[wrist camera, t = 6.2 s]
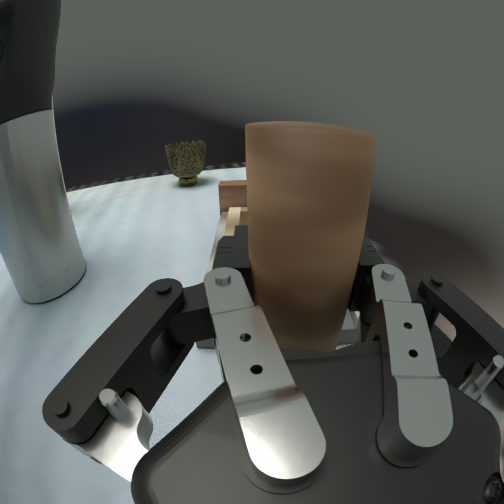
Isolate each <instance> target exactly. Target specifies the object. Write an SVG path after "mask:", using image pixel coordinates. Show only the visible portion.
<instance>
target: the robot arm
mask: <svg viewBox="0 0 504 504" xmlns="http://www.w3.org/2000/svg"><path fill="white" fill-rule="evenodd" d="M60 8H61V0H0V252H1V254H2V257H3V259H4V262H5V264H6V267H7V269H8V271H9V274H10V276H11V278H12V280H13V282H14V284H15V287H16V289H17V291H18V293H19V295H20V296H21V298H22V299H23V300H24V301H26V302H29V303H41V302H45V301H48V300H51V299H54V298H56V297H58V296H60V295H62V294H63V293H65V292H66V291H68V290H69V289H70V288H72V287H73V286H74V285H75V284H76V283H77V282H78V281H79V280H80V279H81V277H82V276H83V274H84V272H85V270H86V263H85V260H84V257H83V254H82V251H81V248H80V244H79V241H78V238H77V235H76V231H75V227H74V224H73V220H72V216H71V213H70V209H69V205H68V201H67V196H66V192H65V188H64V183H63V178H62V173H61V168H60V162H59V156H58V150H57V143H56V139H55V138H56V137H55V129H54V120H53V110H52V109H53V108H52V92H53V87H54V79H55V54H56V44H57V36H58V27H59V20H60ZM348 309H349V312H354V311H359V313H360V314H359V318H358V321H357V330H358V343H355V344H353V345H350V346H347V347H344V348H341V349H338V350H335V351H331V352H322V351H314V350H307V349H300V348H282V349H279V347H278V345H277V342H276V340H275V338H274V336H273V333H272V331H271V329H270V327H269V324H268V322H267V320H266V317H265V315H264V313H263V311H262V309H261V307H260V306H259V305H256V306H254V304H253V301H252V299H251V271H250V260H249V251H248V225H235V230H234V236H223V237H222V238H221V239H220V240H219V241H218V244H217V249H216V254H215V257H214V262H213V267H212V270H211V271H209V272H208V273H207V274H206V275H205V277H204V282H203V283H200V284H198V285H195V286H191V287H186V288H183V287H182V284H181V283H180V282H179V281H177V280H175V279H170V278H166V279H160V280H157V281H155V282H153V283H151V284H150V285H149V286H148V287H147V288H146V289H145V290H144V291H143V292H142V293H141V294H140V295H139V296H138V297H137V298H136V299H135V300H134V301H133V302H132V303H131V304H130V305H129V306H128V307H127V308H126V309H125V310H124V311H123V312H122V313H121V315H120V316H119V317H118V318H117V319H116V320H115V321H114V322H113V323H112V324H111V325H110V326H109V327H108V328H107V329H106V331H105V332H104V333H103V334H102V335H101V336H100V337H99V338H98V339H97V340H96V341H95V343H94V344H93V345H92V346H91V347H90V348H89V349H88V350H87V351H86V352H85V354H84V355H83V356H82V357H81V358H80V359H79V360H78V361H77V363H76V364H75V365H74V366H73V367H72V368H71V369H70V371H69V372H68V373H67V374H66V375H65V376H64V378H63V379H62V380H61V381H60V382H59V383H58V385H57V386H56V387H55V388H54V389H53V391H52V392H51V393H50V394H49V395H48V397H47V398H46V400H45V402H44V404H43V409H42V413H43V418H44V420H45V422H46V423H47V425H48V426H49V427H51V428H52V429H53V430H54V431H55V432H57V433H58V434H59V435H60V436H61V437H62V438H63V439H64V440H65V441H66V442H67V443H69V444H70V445H71V446H73V447H74V448H75V449H77V450H78V451H80V452H81V453H82V454H84V455H86V456H89V457H90V458H92V459H93V460H95V461H96V462H98V463H100V464H104V465H106V466H107V467H108V468H110V469H111V470H113V471H114V472H116V473H118V474H119V475H121V476H122V477H124V478H126V479H127V480H129V481H130V482H131V493H132V497H133V500H134V503H135V504H504V483H503V481H502V478H501V474H500V442H501V435H500V428H499V423H500V422H501V421H502V419H503V418H504V329H503V328H502V327H501V326H500V325H499V324H498V323H497V322H496V321H495V320H494V319H493V318H492V317H490V316H489V315H488V314H487V313H486V312H485V311H484V310H483V309H481V308H480V307H479V306H478V305H477V304H476V303H475V302H474V301H472V300H471V299H470V298H469V297H468V296H467V295H465V294H464V293H463V292H462V291H460V290H459V289H458V288H457V287H456V286H454V285H453V284H452V283H451V282H450V281H448V280H447V279H446V278H445V277H443V276H441V275H439V274H437V273H433V272H427V273H425V274H423V275H422V278H421V281H420V282H417V281H411V280H406V279H405V277H404V275H403V273H402V272H401V271H400V270H399V269H398V268H396V267H394V266H392V265H388V264H385V263H384V261H383V260H382V258H381V257H380V255H379V254H378V252H376V249H375V248H374V247H373V245H372V244H371V242H370V241H369V240H368V239H367V238H365V237H364V236H363V241H362V246H361V251H360V256H359V261H358V266H357V271H356V275H355V280H354V284H353V288H352V292H351V296H350V300H349V304H348ZM439 313H441V314H442V315H443V316H444V317H445V318H446V319H447V320H448V321H450V322H451V323H452V324H453V325H454V327H455V329H456V337H455V339H454V340H453V342H452V341H451V340H450V339H449V338H448V337H447V336H446V335H445V334H444V333H443V332H442V331H441V330H440V329H439V328H438V327H437V326H436V325H435V324H434V323H435V321H436V319H437V317H438V315H439ZM211 338H213V340H214V344H215V349H216V353H217V357H218V362H219V366H220V370H221V375H222V380H223V383H222V384H221V385H220V386H219V387H218V388H216V389H215V390H214V391H213V392H212V393H211V394H210V395H209V396H208V397H207V398H206V399H205V400H204V401H203V402H202V403H201V404H200V405H199V406H198V407H197V408H196V409H195V410H194V411H193V412H191V413H190V414H189V415H188V416H187V417H186V418H185V419H184V420H183V421H182V422H181V423H180V424H178V425H177V426H176V427H175V428H174V429H173V430H172V431H171V432H170V433H168V434H167V435H166V436H165V437H164V438H163V439H162V440H160V441H159V442H158V443H157V444H156V445H155V446H153V447H152V448H151V449H150V447H149V440H150V437H151V434H152V432H153V421H152V419H151V417H150V415H149V413H150V411H151V410H152V408H153V407H154V405H155V404H156V402H157V401H158V399H159V397H160V396H161V394H162V393H163V391H164V390H165V388H166V387H167V385H168V384H169V382H170V381H171V379H172V378H173V376H174V375H175V373H176V371H177V370H178V368H179V367H180V365H181V364H182V362H183V361H184V359H185V358H186V356H187V355H188V353H189V352H190V350H191V349H192V347H193V345H194V342H198V341H202V340H207V339H211ZM440 375H441V376H440Z"/></svg>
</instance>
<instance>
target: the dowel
mask: <svg viewBox="0 0 504 504" xmlns="http://www.w3.org/2000/svg"><path fill="white" fill-rule="evenodd" d="M245 134H246V176H247V214H248V251H249V260H250V271H251V299H252V301H253V304H254V306H256V305H259V306H260V307H261V309H262V311H263V313H264V315H265V317H266V320H267V322H268V324H269V327H270V329H271V331H272V333H273V336H274V338H275V340H276V342H277V345H278V347H279V349H282V348H300V349H307V350H314V351H322V352H331V351H335V350H336V347H337V344H338V341H339V337H340V334H341V330H342V327H343V323H344V319H345V316H346V312H347V308H348V304H349V300H350V296H351V292H352V288H353V284H354V280H355V275H356V271H357V266H358V261H359V256H360V251H361V246H362V241H363V236H364V230H365V224H366V218H367V212H368V206H369V199H370V192H371V184H372V176H373V167H374V156H375V146H376V134H375V133H373V132H370V131H367V130H363V129H358V128H353V127H347V126H341V125H333V124H324V123H313V122H293V121H292V122H291V121H282V122H281V121H280V122H279V121H276V122H258V123H250V124H247V125H245Z"/></svg>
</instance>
